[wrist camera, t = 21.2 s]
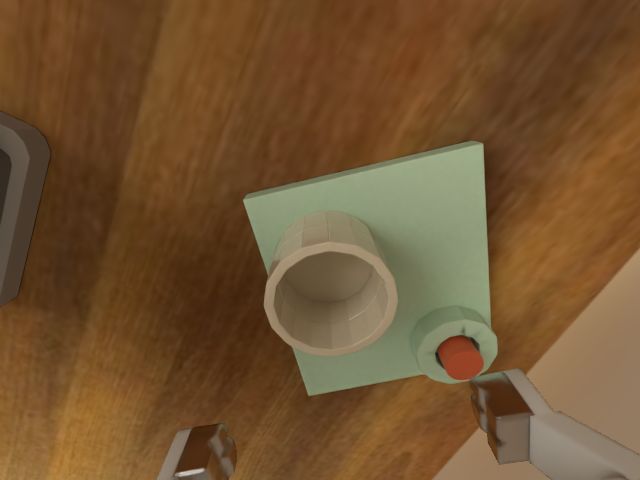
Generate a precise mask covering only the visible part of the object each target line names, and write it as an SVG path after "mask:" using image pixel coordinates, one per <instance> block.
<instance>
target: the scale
mask: <svg viewBox="0 0 640 480" xmlns="http://www.w3.org/2000/svg"><path fill="white" fill-rule="evenodd" d="M243 202H244V205H245V208H246V211H247V214H248V217H249V220H250V223H251V226H252V229H253V232H254V235H255V238H256V241H257V244H258V247H259V250H260V253H261V256H262V259H263V262H264V265H265V268H266V271H267V274H268V275H269V271H270V267H271V264H272V260H273V256H274V252H275V248H276V245H277V244H278V242H279V239H280V237H281V236H282V234H283V233H284V231H285V230H286V229H287V228H288V227H289V225H290V224H292V223H293V222H294V221H295V220H297V219H299V218H300V217H302V216H304V215H306V214H309V213H312V212H316V211H322V210H334V211H340V212H344V213H347V214H350V215H352V216H354V217H356V218H358V219H359V220H361V221H362V222H363V223H364V224H365V225H367V226H368V228H369V229H370V230H371V231H372V233H373V235H374V236H375V238H376V239H377V241H378V243H379V245H380V247H381V249H382V251H383V254H384V256H385V258H386V260H387V262H388V265H389V267H390V269H391V271H392V273H393V276H394V278H395V281H396V287H397V293H398V299H399V300H398V305H397V308H396V312H395V315H394V318H393V322H392V324H391V325H390V326H389V327H388V328H387V329H386V331H385V332H384V333H383V334H382V335H381V337H380V338H379V339H378V340H377V341H375V342H374V343H372V344H370V345H368V346H367V347H365V348H363V349H361V350H359V351H358V352H355V353H350V354H345V355H340V356H334V357H333V356H332V357H329V356H321V355H312V354H309V353H308V354H307V353H305V352H303V351H301V350H299V349H297V348H295V347H292V348H293V351H294V354H295V357H296V360H297V363H298V366H299V369H300V372H301V375H302V378H303V381H304V384H305V387H306V390H307V393H308V396H311V395H317V394H322V393H327V392H333V391H338V390H343V389H348V388H354V387H359V386H364V385H370V384H375V383H380V382H386V381H391V380H396V379H402V378H407V377H412V376H418V375H423V374H426V375H427V376H428V377H429V378H430V379H431V380H435V381H439V382H444V383H448V384H453V383H458V382H464V381H469V380H470V379H468V380H456V379H453V378H451V377H450V376H449V375H448V374H447V372H446V370H445V368H444V366H443V364H442V362H441V360H440V358H439V356H438V348H439V346H440V344H441V343H442V342H443V341H445V340H446V339H448V338H449V337H453V336H458V335H461V336H465V337H467V338H469V339H470V340H471V341H472V342H473V344H474V345H475V347H476V348H477V350H478V351H479V353H480V355H481V356H482V358H483V360H484V366H483V369H482V370H481V372H480V373H479V374H478V375H480V374H481V373H483V372H484V371H486V370H487V369H488V368H489V367H490V365H491V363H492V362H493V360H494V359H495V357H496V356H497V353H498V350H497V337H496V334H495V333H494V332H493V331H492V329H491V314H490V291H489V268H488V244H487V221H486V197H485V174H484V151H483V143H479V142H476V141H469V142H464V143H460V144H456V145H452V146H447V147H443V148H439V149H435V150H431V151H426V152H422V153H418V154H414V155H409V156H405V157H401V158H397V159H393V160H388V161H384V162H380V163H376V164H371V165H367V166H363V167H359V168H355V169H350V170H346V171H342V172H338V173H334V174H329V175H325V176H321V177H317V178H312V179H308V180H304V181H300V182H296V183H291V184H287V185H283V186H279V187H274V188H270V189H266V190H262V191H258V192H253V193H249V194H247V195H246V197H245V198H244V199H243ZM478 375H476V376H478Z"/></svg>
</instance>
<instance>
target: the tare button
mask: <svg viewBox="0 0 640 480" xmlns="http://www.w3.org/2000/svg"><path fill="white" fill-rule="evenodd" d="M438 356H439V358H440V360H441V362H442V364H443V366H444V368H445V370H446V372H447V374H448V375H449V376H450V377H451V378H453V379H456V380H468V379H470V377H475V376H476V375H478V374H479V373H480V372H481V370H482V369H483V366H484V360H483V358H482V356H481V355H480V353H479V351H478V350H477V348H476V347H475V345H474V344H473V342H472V341H471V340H470V339H469V338H467V337H465V336H461V335H458V336H453V337H449V338H448V339H446V340H445V341H443V342H442V343H441V344H440V346H439V348H438Z"/></svg>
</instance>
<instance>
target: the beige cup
mask: <svg viewBox="0 0 640 480" xmlns="http://www.w3.org/2000/svg"><path fill="white" fill-rule="evenodd" d="M398 300H399V299H398V293H397V287H396V281H395V278H394V276H393V273H392V271H391V269H390V267H389V265H388V262H387V260H386V258H385V256H384V254H383V251H382V249H381V247H380V245H379V243H378V241H377V239H376V238H375V236H374V235H373V233H372V231H371V230H370V229H369V228H368V226H367V225H365V224H364V223H363V222H362V221H361V220H359V219H358V218H356V217H354V216H352V215H350V214H347V213H344V212H340V211H334V210H322V211H316V212H312V213H309V214H306V215H304V216H302V217H300V218H299V219H297V220H295V221H294V222H293V223H292V224H290V225H289V227H288V228H287V229H286V230H285V231H284V233H283V234H282V236H281V237H280V239H279V242H278V244H277V245H276V248H275V252H274V256H273V260H272V264H271V267H270V271H269V275H268V279H267V283H266V289H265V298H264V309H265V311H266V314H267V317H268V320H269V323H270V325H271V327H272V329H273V330H274V331H275V332H276V333H277V334H278V335H279V336H280V337H281V338H282V339H283V340H284V341H285V342H286V343H287V344H288V345H290V346H292V347H295V348H297V349H299V350H301V351H303V352H305V353H307V354H308V353H309V354H312V355H321V356H329V357H332V356H333V357H334V356H340V355H345V354H350V353H355V352H358V351H359V350H361V349H363V348H365V347H367V346H368V345H370V344H372V343H374V342H375V341H377V340H378V339H379V338H380V337H381V335H382V334H383V333H384V332H385V331H386V329H387V328H388V327H389V326H390V325H391V324H392V322H393V318H394V315H395V312H396V308H397V305H398Z"/></svg>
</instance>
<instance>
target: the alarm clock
mask: <svg viewBox="0 0 640 480" xmlns="http://www.w3.org/2000/svg"><path fill="white" fill-rule="evenodd" d="M50 155H51V152H50V150H49V147H48V144H47V141H46V139H45V138H44V136H43V135H42V134H41V133H40V132H39V131H38V130H37V129H36V128H35V127H33V126H31V125H28V124H26V123H24V122H22V121H20V120H18V119H16V118H14V117H12V116H10V115H8V114H6V113H3V112H1V111H0V307H1V306H2V305H4V304H6V303H7V302H9V301H10V300H12V299H13V298H15V297H16V296H17V295H18V291H19V287H20V283H21V278H22V274H23V270H24V266H25V261H26V257H27V253H28V249H29V244H30V240H31V236H32V232H33V227H34V223H35V219H36V215H37V210H38V206H39V202H40V198H41V193H42V189H43V185H44V181H45V176H46V172H47V168H48V164H49V159H50Z"/></svg>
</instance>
